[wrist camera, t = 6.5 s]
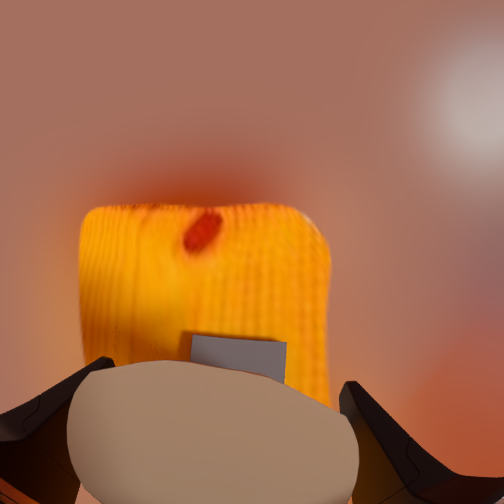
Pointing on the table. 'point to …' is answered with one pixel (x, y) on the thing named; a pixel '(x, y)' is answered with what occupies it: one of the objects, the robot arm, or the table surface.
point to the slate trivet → (241, 355)
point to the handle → (206, 438)
